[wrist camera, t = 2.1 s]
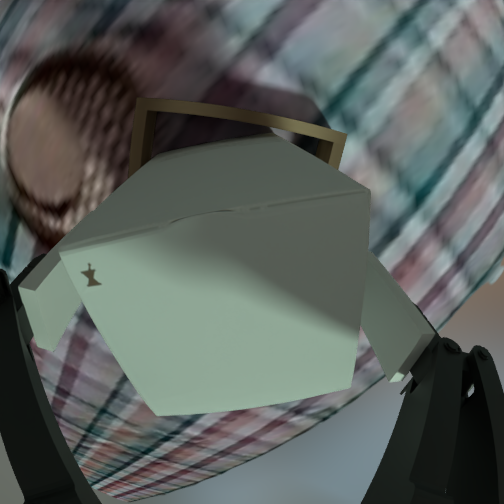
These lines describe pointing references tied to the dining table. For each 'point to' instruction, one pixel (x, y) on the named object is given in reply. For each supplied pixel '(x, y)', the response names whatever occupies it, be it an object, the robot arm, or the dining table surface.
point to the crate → (147, 112)
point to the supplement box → (227, 275)
